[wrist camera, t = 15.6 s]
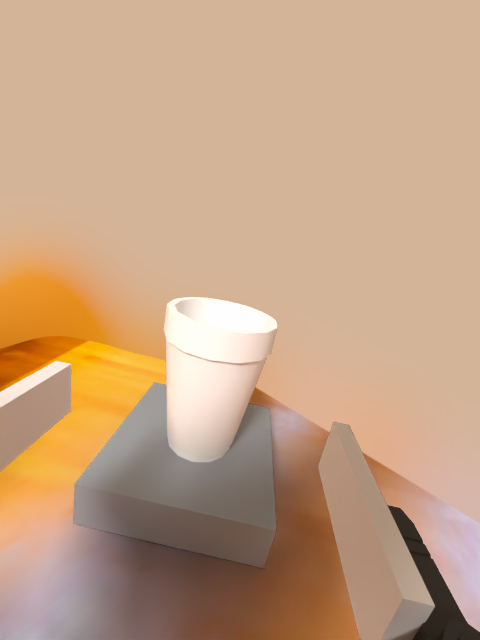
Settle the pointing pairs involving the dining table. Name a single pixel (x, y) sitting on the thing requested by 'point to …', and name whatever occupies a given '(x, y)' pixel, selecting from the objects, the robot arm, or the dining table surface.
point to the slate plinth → (183, 487)
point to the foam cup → (211, 371)
